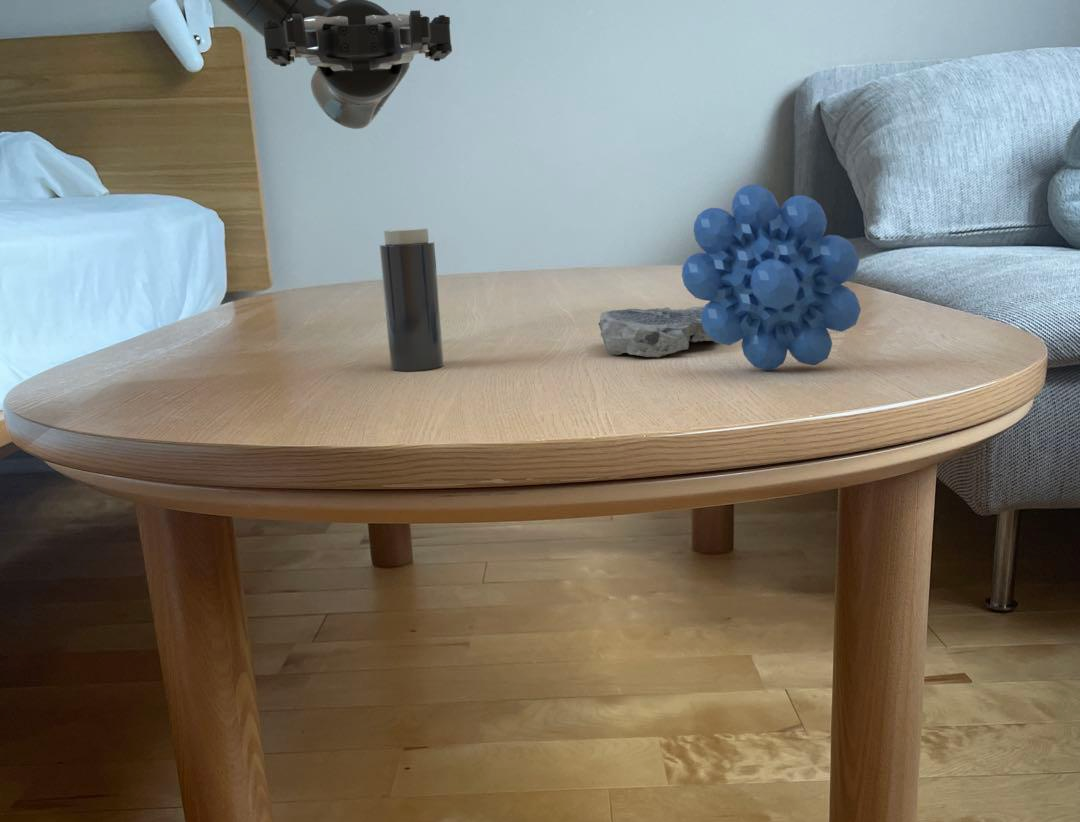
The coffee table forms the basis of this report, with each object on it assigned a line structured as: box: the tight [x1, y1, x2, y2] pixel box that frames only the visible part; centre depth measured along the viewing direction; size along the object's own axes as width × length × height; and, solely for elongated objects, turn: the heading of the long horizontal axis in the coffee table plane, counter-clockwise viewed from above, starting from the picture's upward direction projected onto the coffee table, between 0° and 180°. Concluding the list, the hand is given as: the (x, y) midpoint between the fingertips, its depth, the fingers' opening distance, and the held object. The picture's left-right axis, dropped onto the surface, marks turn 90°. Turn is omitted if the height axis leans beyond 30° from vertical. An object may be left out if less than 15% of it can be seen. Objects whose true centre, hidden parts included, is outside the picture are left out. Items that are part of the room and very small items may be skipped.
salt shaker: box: [379, 227, 445, 372], centre depth 78 cm, size 4×4×10 cm
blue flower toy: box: [681, 184, 862, 371], centre depth 68 cm, size 12×7×12 cm, turn 82°
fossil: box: [598, 306, 714, 358], centre depth 82 cm, size 11×4×10 cm
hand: (358, 27), depth 76 cm, fingers open, 8 cm apart
